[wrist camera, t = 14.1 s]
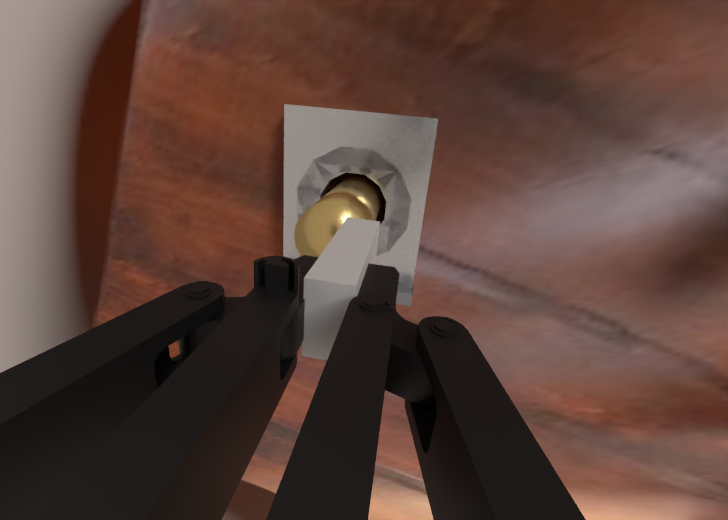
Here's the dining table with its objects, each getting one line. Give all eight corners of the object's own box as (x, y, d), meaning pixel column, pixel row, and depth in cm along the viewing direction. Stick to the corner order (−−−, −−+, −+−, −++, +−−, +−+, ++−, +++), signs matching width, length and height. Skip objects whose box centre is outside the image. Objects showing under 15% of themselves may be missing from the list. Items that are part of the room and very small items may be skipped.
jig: (292, 105, 29) (275, 102, 26) (436, 118, 28) (440, 118, 25) (290, 269, 35) (275, 287, 31) (411, 286, 34) (411, 306, 30)
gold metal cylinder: (333, 174, 31) (294, 199, 21) (383, 179, 31) (369, 208, 20) (331, 222, 33) (293, 268, 22) (378, 228, 32) (362, 277, 22)
